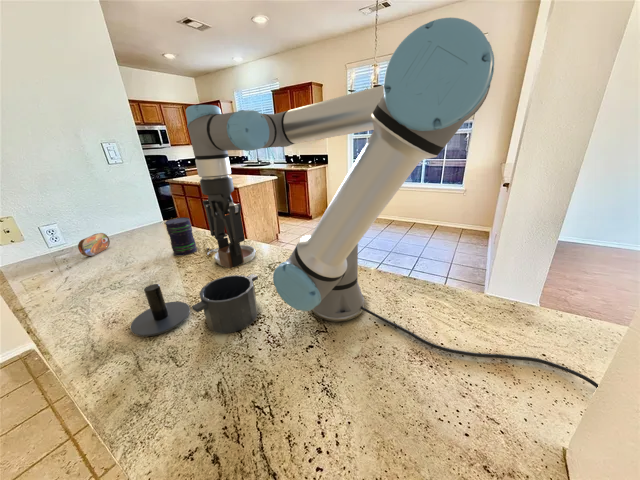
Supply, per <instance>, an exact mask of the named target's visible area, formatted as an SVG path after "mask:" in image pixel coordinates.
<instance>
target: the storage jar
mask: <svg viewBox="0 0 640 480" xmlns="http://www.w3.org/2000/svg"><path fill="white" fill-rule="evenodd" d="M164 223H165V227H166V231H167V234H168V236H169V239H170V246H171V250H172V252H173V255H174V256H176V257H181V256H182V257H183V256H188V255H192V254H194V253H195V252H197V250H198V248H197V243H196V241H195V240H196V239H195V237H194V233H193V227H192V223H191V219H190V218H189V217H187V216H185V217H176V218H171V219H168V220H166V221H165V222H164Z"/></svg>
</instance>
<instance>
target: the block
mask: <svg viewBox="0 0 640 480" xmlns="http://www.w3.org/2000/svg"><path fill="white" fill-rule="evenodd" d="M240 248H241V247H240ZM218 254H219V259H220V263H221V265H223V266H222V267H225V268H227V269H233V268H234V267H233V265H232V260H231V255H230V250H229V246H226V247H224V248H221V249H219V250H218ZM241 256H242V262H243V263H244V259H243V254H242V248H241ZM221 265H220V266H221Z"/></svg>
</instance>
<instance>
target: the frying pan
mask: <svg viewBox="0 0 640 480" xmlns="http://www.w3.org/2000/svg"><path fill="white" fill-rule="evenodd" d="M240 247H241V248H242V254H243V259H244V263H243V264H242V265H244V264H247V263H249V262H251V261H252V260H253V259H254V258H255V255H256V252H257V251H256V248H255V247H253V246H251V245H248V244H247V245H245V244H240ZM218 250H219V247H216V248H214V249H213V248H210V247H209V246H207V247H205V251H206V252H207V253H206V255H207V256H209V255H211V253H215V254H214V256H213V260H214V261H215V262H216V263H217V265H218V266H221V267H224V266H223V265H221V263H220V259H219V254H218Z"/></svg>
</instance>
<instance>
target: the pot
mask: <svg viewBox="0 0 640 480" xmlns="http://www.w3.org/2000/svg"><path fill="white" fill-rule="evenodd" d="M258 278H259V276H258V275H257V274H253V273H251V274H249V275H248V276H246V275H240V274H233V275H225V276H221V277H218V278H215V279H214V280H213V279H212V280H211V281H209V282H208V283H206V284H205V285H204V286H203V287H202V288H201V290H200V291H199V293H198V294H199V298H200V301H199V302H197V303H195V304H193V305H192V306H191V309H192V310H193V311H194V312H196V313H199V312H202V311H203V313H204V317H205V321H206V325H207V328H208V329H209V330H210V331H211V332H214V333H217V334H231V333H236V332H238V331H241V330H243V329H245V328H247V327H248V326H250V325H251V324H252V323H253V322H254V321H255V320H256V319H257V317H258V313H259V311H258V309H259V308H258V307H259V306H258V303H257V295H256V290H255V285H254V284H255V283H254V282H255V281H257V280H258Z"/></svg>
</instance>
